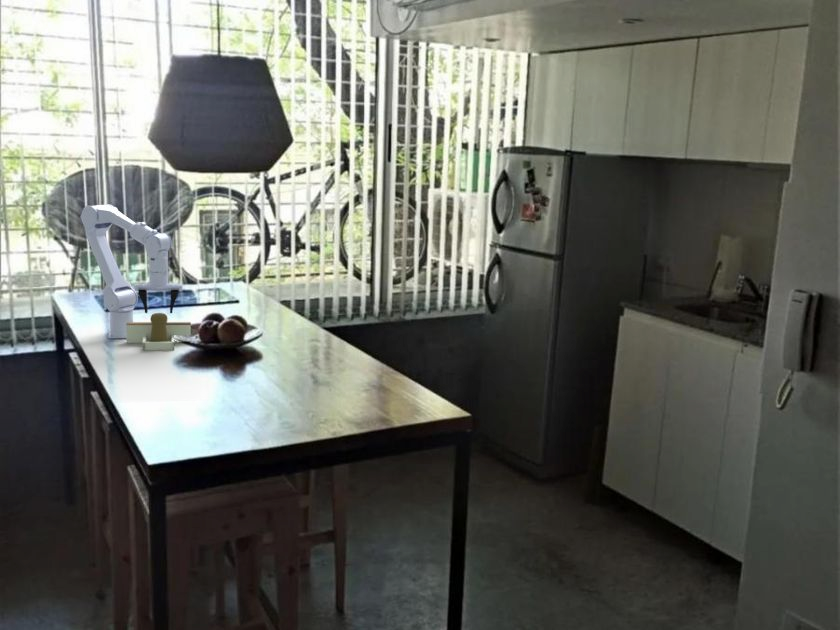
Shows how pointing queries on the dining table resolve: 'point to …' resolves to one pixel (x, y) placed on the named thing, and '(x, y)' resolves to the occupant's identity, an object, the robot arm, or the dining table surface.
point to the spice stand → (142, 334)
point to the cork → (159, 328)
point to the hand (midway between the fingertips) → (158, 312)
